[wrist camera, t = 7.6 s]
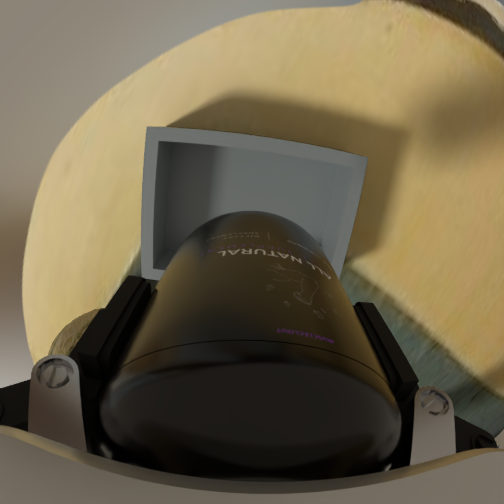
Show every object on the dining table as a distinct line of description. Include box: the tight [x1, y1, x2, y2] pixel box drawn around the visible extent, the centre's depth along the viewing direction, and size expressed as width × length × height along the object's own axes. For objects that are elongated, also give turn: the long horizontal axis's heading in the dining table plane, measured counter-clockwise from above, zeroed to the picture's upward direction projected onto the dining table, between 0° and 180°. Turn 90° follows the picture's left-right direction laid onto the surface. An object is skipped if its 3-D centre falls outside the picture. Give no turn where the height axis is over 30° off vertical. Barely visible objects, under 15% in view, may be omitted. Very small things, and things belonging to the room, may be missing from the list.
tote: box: [141, 127, 368, 280], centre depth 24 cm, size 16×12×5 cm
